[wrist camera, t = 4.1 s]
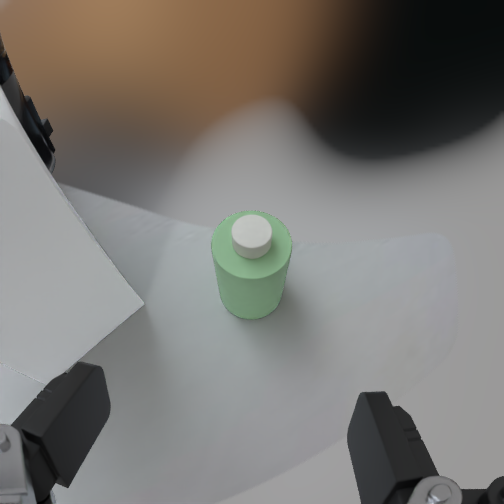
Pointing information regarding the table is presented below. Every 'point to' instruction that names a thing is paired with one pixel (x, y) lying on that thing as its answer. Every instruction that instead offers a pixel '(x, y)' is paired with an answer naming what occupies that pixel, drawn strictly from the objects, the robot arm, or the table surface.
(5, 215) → the milk
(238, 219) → the soap bottle
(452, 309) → the table surface
